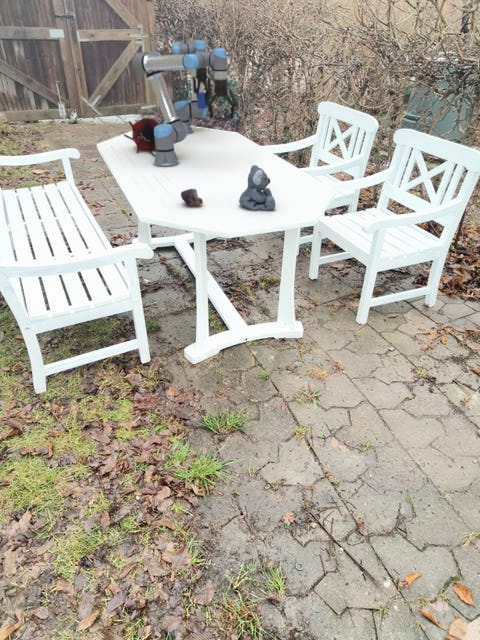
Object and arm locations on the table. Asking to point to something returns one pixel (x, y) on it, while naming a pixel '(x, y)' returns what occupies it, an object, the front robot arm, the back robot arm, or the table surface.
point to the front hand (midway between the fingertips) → (221, 118)
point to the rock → (191, 197)
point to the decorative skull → (144, 134)
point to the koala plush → (257, 191)
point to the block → (201, 100)
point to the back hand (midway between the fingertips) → (203, 103)
